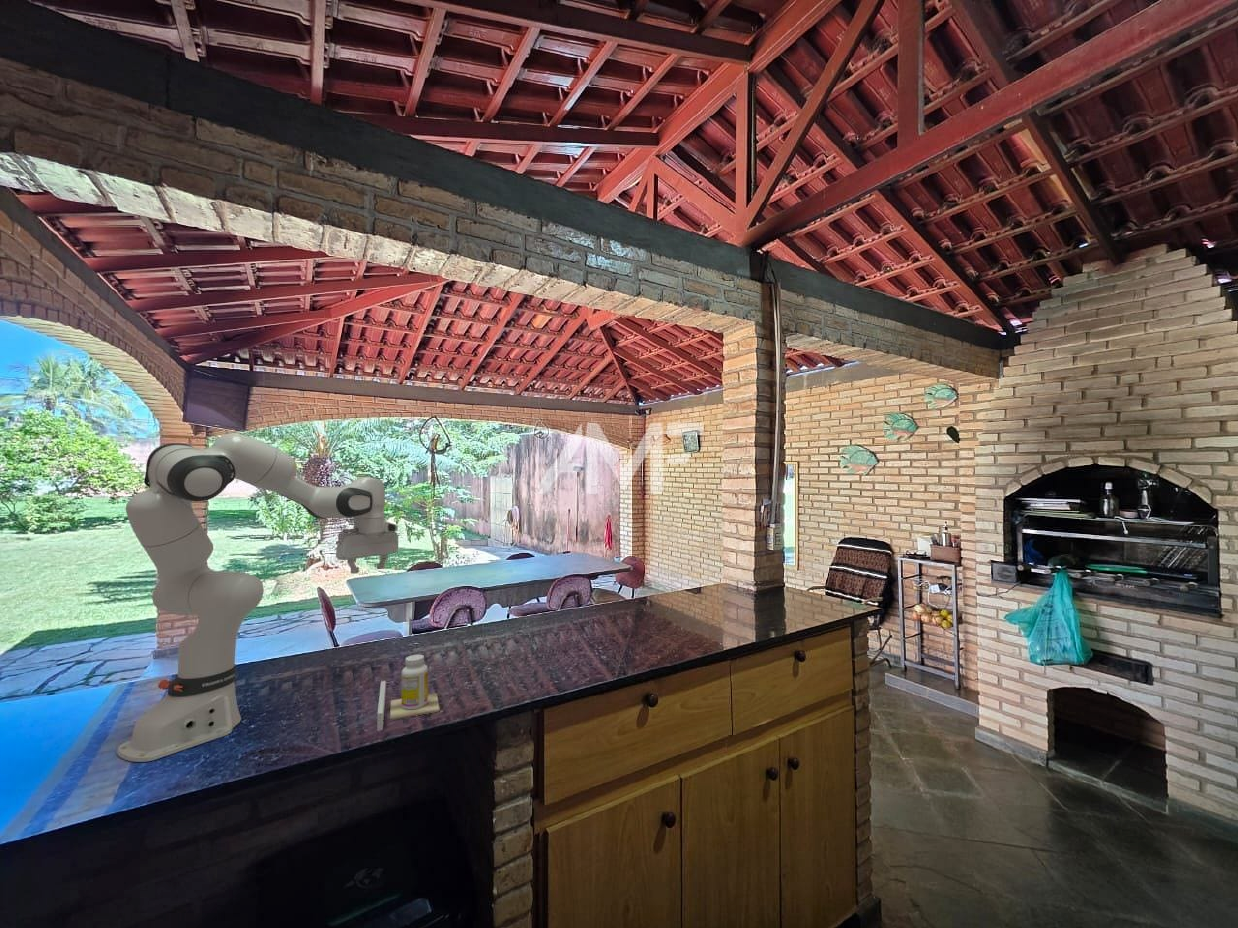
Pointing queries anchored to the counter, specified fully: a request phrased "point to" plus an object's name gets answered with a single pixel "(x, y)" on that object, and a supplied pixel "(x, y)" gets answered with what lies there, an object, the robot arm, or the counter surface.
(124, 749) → the robot arm
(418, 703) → the supplement bottle
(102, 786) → the counter surface
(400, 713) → the light oak mat
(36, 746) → the counter surface
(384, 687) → the frosted acrylic wall
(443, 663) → the counter surface
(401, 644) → the counter surface
